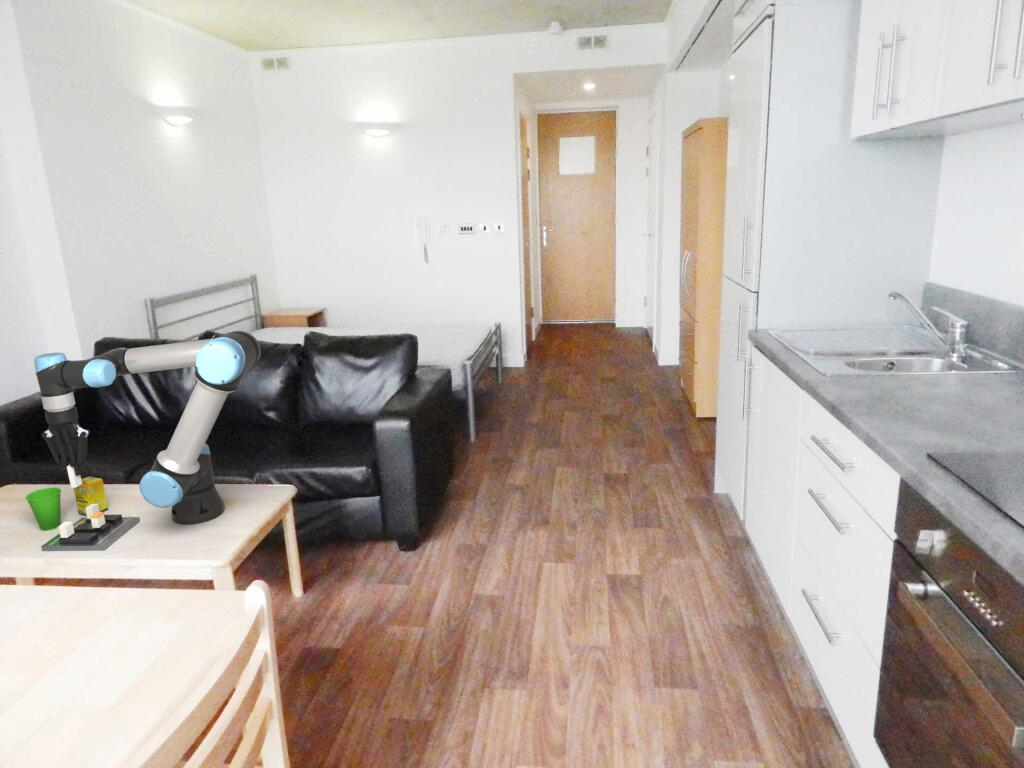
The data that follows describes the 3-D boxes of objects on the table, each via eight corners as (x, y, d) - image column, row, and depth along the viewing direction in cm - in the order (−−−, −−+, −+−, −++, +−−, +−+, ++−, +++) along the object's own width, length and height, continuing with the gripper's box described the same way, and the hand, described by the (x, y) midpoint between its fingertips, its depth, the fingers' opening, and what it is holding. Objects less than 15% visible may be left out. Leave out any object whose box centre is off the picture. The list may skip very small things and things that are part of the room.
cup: (50, 534, 201) (43, 500, 198) (25, 532, 203) (17, 499, 200) (75, 521, 209) (68, 488, 207) (50, 519, 211) (43, 486, 208)
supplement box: (78, 514, 214) (71, 482, 211) (95, 507, 219) (89, 475, 216) (91, 517, 212) (84, 485, 209) (108, 509, 217) (102, 478, 214)
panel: (139, 521, 208) (138, 512, 207) (104, 550, 191) (102, 540, 190) (82, 522, 209) (80, 513, 208) (42, 551, 191) (40, 541, 191)
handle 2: (100, 514, 206) (97, 503, 205) (93, 518, 203) (91, 508, 202) (93, 514, 206) (91, 503, 205) (87, 518, 203) (85, 508, 203)
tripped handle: (105, 523, 200) (103, 511, 199) (99, 527, 197) (97, 516, 196) (98, 523, 200) (96, 512, 199) (92, 527, 197) (90, 516, 197)
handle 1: (74, 532, 195) (72, 521, 194) (67, 537, 192) (65, 526, 191) (67, 532, 195) (65, 521, 194) (60, 537, 192) (58, 526, 191)
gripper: (91, 403, 193) (106, 480, 199) (46, 404, 193) (63, 480, 200) (74, 411, 186) (90, 490, 192) (28, 412, 186) (45, 491, 192)
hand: (76, 485), depth 196 cm, fingers closed
